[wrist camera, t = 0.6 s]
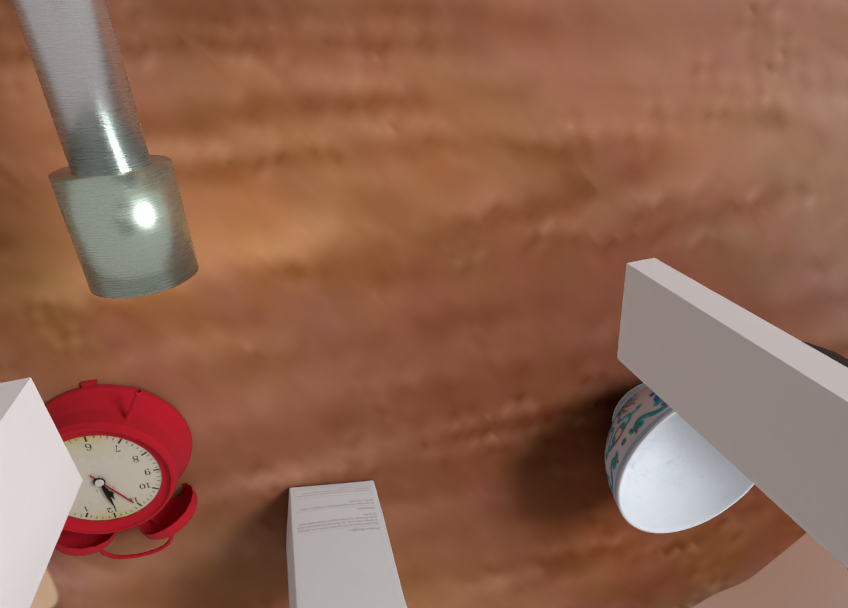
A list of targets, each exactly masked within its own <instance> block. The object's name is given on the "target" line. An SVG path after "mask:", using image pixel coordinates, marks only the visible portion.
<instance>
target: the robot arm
mask: <svg viewBox="0 0 848 608" xmlns="http://www.w3.org/2000/svg"><path fill="white" fill-rule="evenodd" d="M617 359H618V360H619V361H620V362H621V363H623V364H624V365H625V366H626V367H627V368H628V369H629V370H630V371H631V372H632V373H633V374H635V375H636V376H637V377H638V378H639V379H640V380H641V381H642V382H643V383H644V384H646V385H647V386H648V387H649V388H650V389H651V390H652V391H653V392H654V393H655V394H656V395H658V396H659V397H660V398H661V399H662V400H663V401H664V402H665V403H666V404H667V405H668V406H670V407H671V408H672V409H673V410H674V411H675V412H676V413H677V414H678V415H679V416H680V417H682V418H683V419H684V420H685V421H686V422H687V423H688V424H689V425H690V426H691V427H692V428H694V429H695V430H696V431H697V432H698V433H699V434H700V435H701V436H702V437H703V438H704V439H706V440H707V441H708V442H709V443H710V444H711V445H712V446H713V447H714V448H715V449H716V450H718V451H719V452H720V453H721V454H722V455H723V456H724V457H725V458H726V459H727V460H728V461H730V462H731V463H732V464H733V465H734V466H735V467H736V468H737V469H738V470H739V471H740V472H742V473H743V474H744V475H745V476H746V477H747V478H748V479H749V480H750V481H751V482H753V483H754V484H755V485H756V486H757V487H758V488H759V489H760V490H761V491H762V492H763V493H765V494H766V495H767V496H768V497H769V498H770V499H771V500H772V501H773V502H774V503H775V504H777V505H778V506H779V507H780V508H781V509H782V510H783V511H784V512H785V513H786V514H787V515H789V516H790V517H791V518H792V519H793V520H794V521H795V522H796V523H797V524H798V525H799V526H801V527H802V528H803V529H804V530H805V531H806V532H807V533H808V534H809V535H810V536H811V537H813V538H814V539H815V540H816V541H817V542H818V543H819V544H820V545H821V546H822V547H824V548H825V549H826V550H827V551H828V552H829V553H830V554H831V555H832V556H833V557H835V558H836V559H837V560H838V561H839V562H840V563H841V564H842V565H843V566H844V567H845V568H846V569H847V570H848V359H846V358H844V357H842V356H841V355H839V354H837V353H835V352H833V351H830V350H827V349H824V348H821V347H818V346H816V345H813V344H810V343H807V342H804V341H800V340H798V339H796V338H794V337H793V336H791V335H789V334H787V333H786V332H784V331H782V330H780V329H779V328H777V327H775V326H773V325H772V324H770V323H768V322H766V321H765V320H763V319H761V318H759V317H758V316H756V315H754V314H752V313H751V312H749V311H747V310H745V309H743V308H742V307H740V306H738V305H736V304H735V303H733V302H731V301H729V300H728V299H726V298H724V297H722V296H721V295H719V294H717V293H715V292H714V291H712V290H710V289H708V288H707V287H705V286H703V285H701V284H700V283H698V282H696V281H694V280H692V279H691V278H689V277H687V276H685V275H684V274H682V273H680V272H678V271H677V270H675V269H673V268H671V267H670V266H668V265H666V264H664V263H663V262H661V261H659V260H657V259H656V258H652V259H646V260H641V261H636V262H631V263H627V265H626V275H625V285H624V295H623V304H622V314H621V324H620V334H619V344H618V353H617ZM82 481H83V480H82V478H81V476H80V474H79V472H78V470H77V468H76V466H75V464H74V462H73V460H72V458H71V456H70V454H69V452H68V450H67V448H66V446H65V444H64V442H63V440H62V438H61V436H60V434H59V432H58V430H57V428H56V426H55V424H54V422H53V420H52V418H51V416H50V414H49V412H48V410H47V408H46V407H45V405H44V403H43V401H42V399H41V397H40V395H39V393H38V391H37V389H36V387H35V385H34V383H33V381H32V379H31V377H30V378H25V379H19V380H14V381H9V382H4V383H0V608H30V606H31V604H32V601H33V599H34V596H35V593H36V592H37V589H38V587H39V584H40V582H41V580H42V577H43V575H44V572H45V570H46V568H47V565H48V563H49V560H50V558H51V556H52V553H53V551H54V548H55V546H56V543H57V541H58V539H59V536H60V534H61V531H62V529H63V527H64V524H65V522H66V519H67V517H68V515H69V512H70V510H71V507H72V505H73V502H74V500H75V498H76V495H77V493H78V490H79V488H80V486H81V483H82Z"/></svg>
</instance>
